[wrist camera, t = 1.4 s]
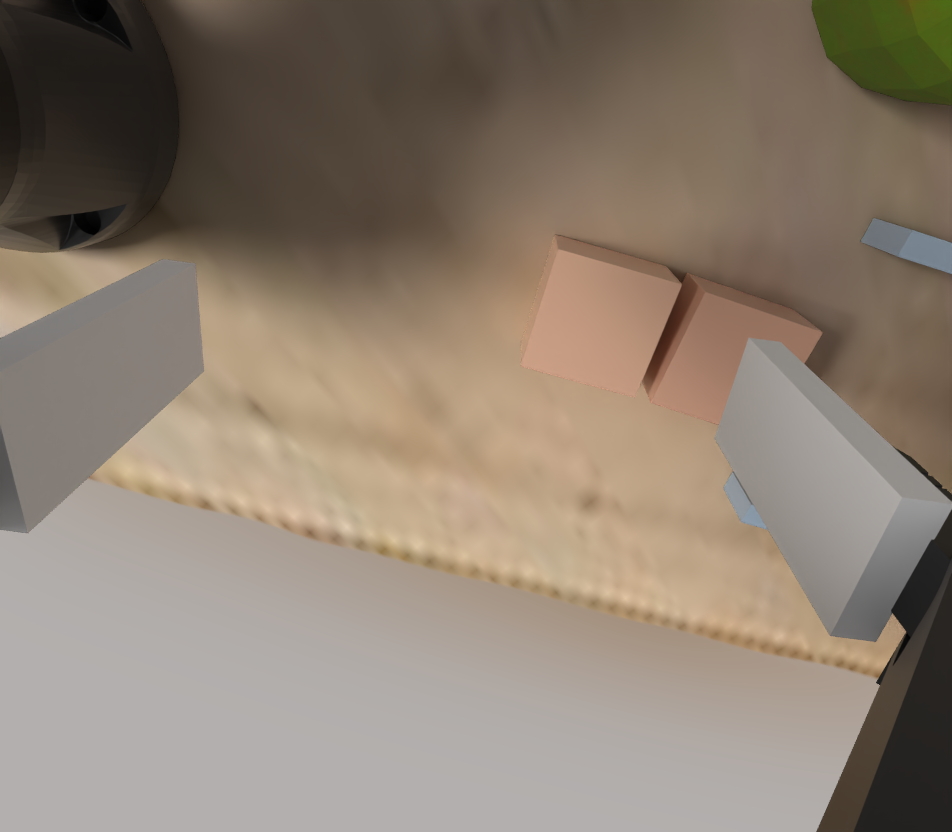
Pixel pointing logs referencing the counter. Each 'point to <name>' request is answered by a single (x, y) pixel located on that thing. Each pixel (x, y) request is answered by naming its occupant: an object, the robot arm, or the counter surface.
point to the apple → (891, 45)
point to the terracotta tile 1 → (597, 316)
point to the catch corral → (892, 242)
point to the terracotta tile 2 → (716, 345)
